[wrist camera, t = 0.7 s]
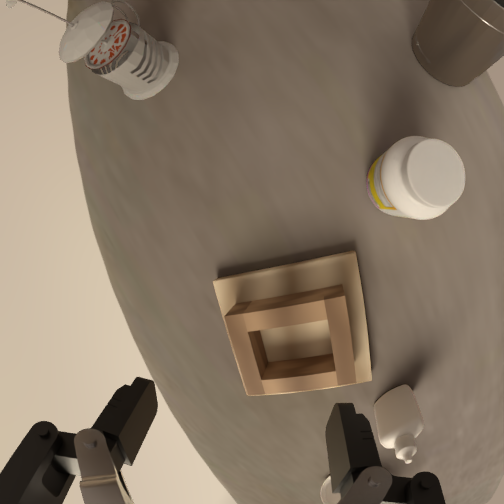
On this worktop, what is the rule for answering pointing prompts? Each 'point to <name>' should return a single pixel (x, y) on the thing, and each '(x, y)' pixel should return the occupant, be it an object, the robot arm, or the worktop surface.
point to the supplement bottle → (416, 178)
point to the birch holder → (297, 325)
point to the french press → (117, 49)
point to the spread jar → (329, 493)
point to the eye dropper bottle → (399, 421)
